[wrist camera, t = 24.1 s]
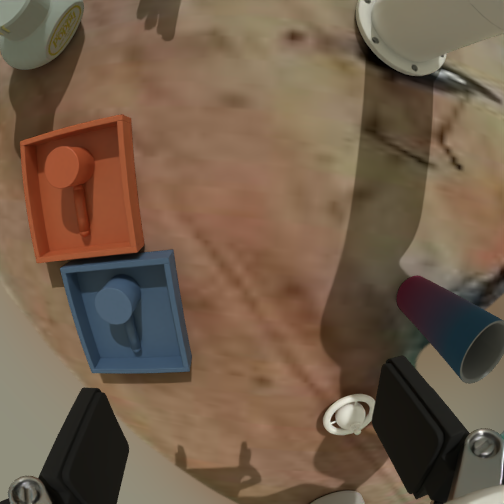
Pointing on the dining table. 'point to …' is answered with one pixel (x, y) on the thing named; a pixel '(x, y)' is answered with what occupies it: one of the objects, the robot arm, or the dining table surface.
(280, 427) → the dining table surface
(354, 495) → the cylinder vase
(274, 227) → the dining table surface
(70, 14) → the air freshener
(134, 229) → the terracotta bin
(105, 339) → the slate bin
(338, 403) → the ring around a ball
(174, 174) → the dining table surface
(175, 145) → the dining table surface
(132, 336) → the blue handled cylinder
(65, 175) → the orange toy mallet
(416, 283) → the cup
